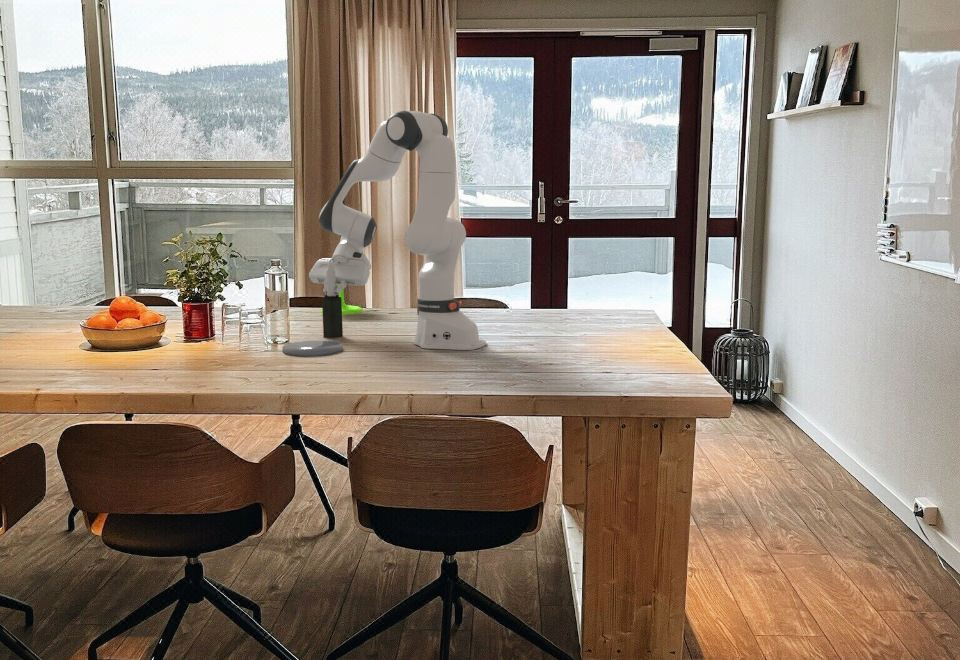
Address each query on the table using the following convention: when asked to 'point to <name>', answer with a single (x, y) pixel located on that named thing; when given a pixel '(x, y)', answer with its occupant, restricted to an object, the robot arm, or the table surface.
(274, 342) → the table surface
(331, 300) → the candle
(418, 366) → the table surface
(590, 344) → the table surface
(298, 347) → the slate plate
